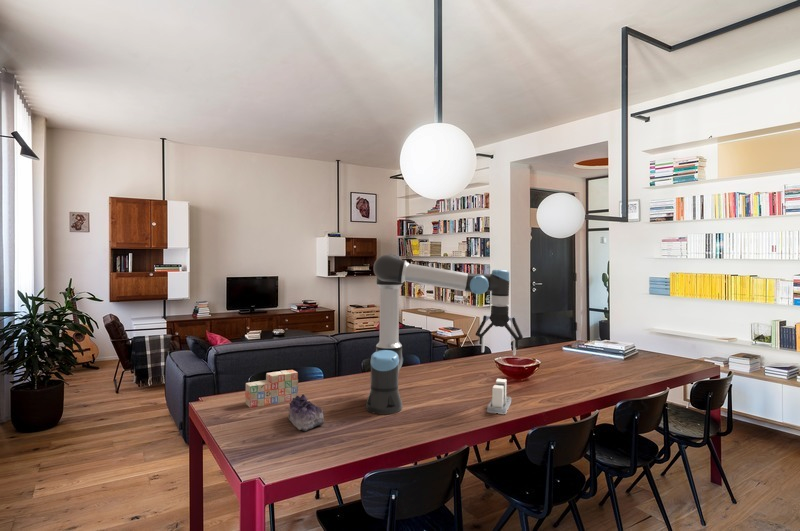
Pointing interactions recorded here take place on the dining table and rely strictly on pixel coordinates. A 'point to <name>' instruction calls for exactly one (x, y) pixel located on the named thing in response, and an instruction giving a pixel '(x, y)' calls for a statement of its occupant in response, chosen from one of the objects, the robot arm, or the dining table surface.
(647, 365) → the dining table surface
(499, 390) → the block
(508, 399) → the rail
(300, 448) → the dining table surface
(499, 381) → the block
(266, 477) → the dining table surface
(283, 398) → the stack of blocks
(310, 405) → the geode
